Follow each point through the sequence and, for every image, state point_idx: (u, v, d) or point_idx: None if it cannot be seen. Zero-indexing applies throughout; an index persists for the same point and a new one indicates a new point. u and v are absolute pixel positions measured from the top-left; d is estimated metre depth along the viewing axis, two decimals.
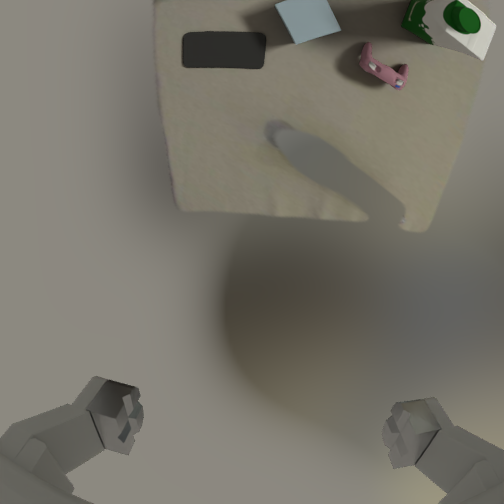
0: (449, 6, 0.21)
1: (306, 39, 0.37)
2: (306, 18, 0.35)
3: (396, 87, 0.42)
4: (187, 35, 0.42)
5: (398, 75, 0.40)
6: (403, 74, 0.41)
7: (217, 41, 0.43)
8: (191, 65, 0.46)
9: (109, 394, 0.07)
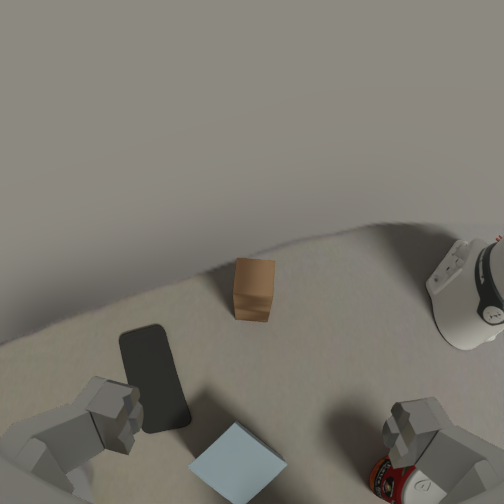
0: None
1: (201, 476, 0.26)
2: (232, 465, 0.26)
3: None
4: (159, 329, 0.40)
5: None
6: None
7: (160, 368, 0.37)
8: (122, 345, 0.38)
9: (109, 394, 0.07)
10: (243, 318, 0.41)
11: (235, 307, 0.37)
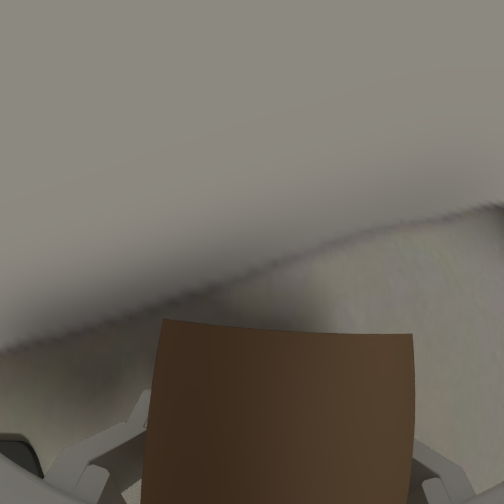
0: None
1: None
2: None
3: None
4: (24, 452, 0.10)
5: None
6: None
7: None
8: None
9: None
10: None
11: None
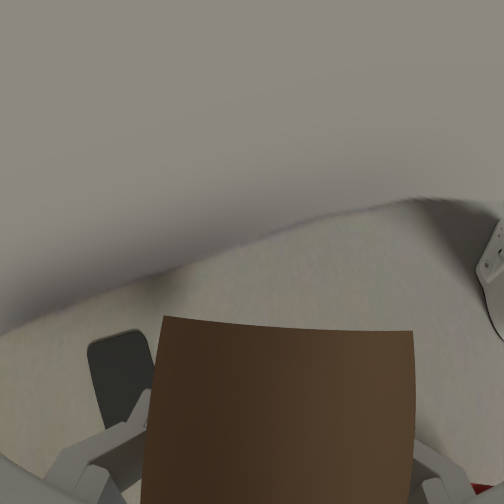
0: None
1: None
2: None
3: None
4: (138, 337, 0.28)
5: None
6: None
7: (140, 391, 0.25)
8: (91, 359, 0.27)
9: None
10: None
11: None
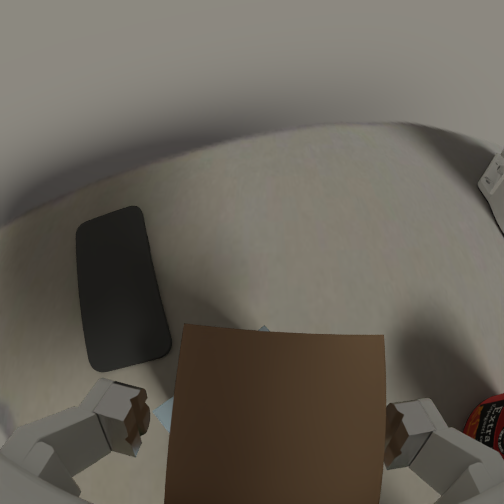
0: None
1: None
2: None
3: None
4: (134, 210, 0.27)
5: None
6: None
7: (128, 263, 0.24)
8: (79, 236, 0.25)
9: (116, 396, 0.07)
10: None
11: None
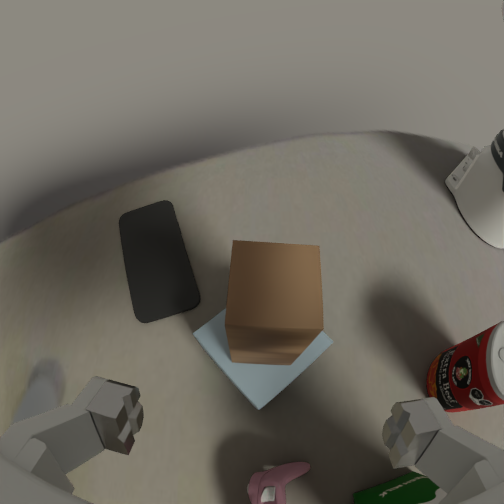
0: None
1: (210, 349, 0.22)
2: None
3: None
4: (167, 203, 0.36)
5: None
6: None
7: (164, 242, 0.33)
8: (122, 224, 0.35)
9: (109, 394, 0.07)
10: (246, 361, 0.21)
11: (231, 347, 0.17)
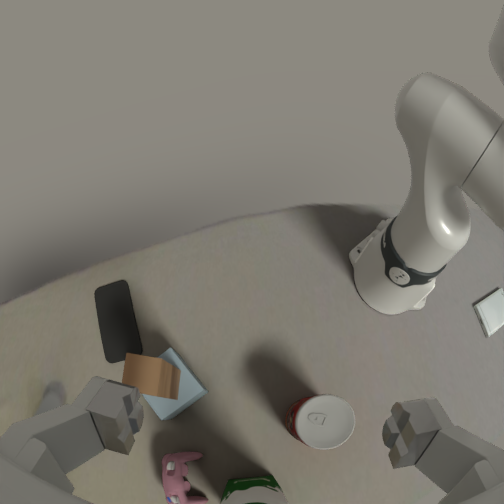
0: None
1: None
2: None
3: (167, 498, 0.30)
4: (124, 283, 0.52)
5: (181, 495, 0.30)
6: (190, 500, 0.31)
7: (122, 312, 0.49)
8: (96, 296, 0.50)
9: (109, 394, 0.07)
10: None
11: None
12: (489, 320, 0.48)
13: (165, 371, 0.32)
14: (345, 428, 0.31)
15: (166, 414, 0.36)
